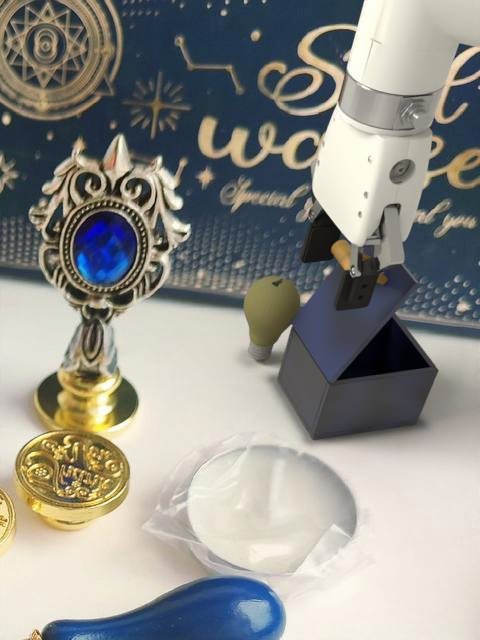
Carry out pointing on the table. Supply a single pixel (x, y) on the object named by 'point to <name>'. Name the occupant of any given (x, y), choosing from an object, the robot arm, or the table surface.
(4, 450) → the table surface
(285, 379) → the box
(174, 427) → the table surface
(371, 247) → the lid
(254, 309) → the light bulb
